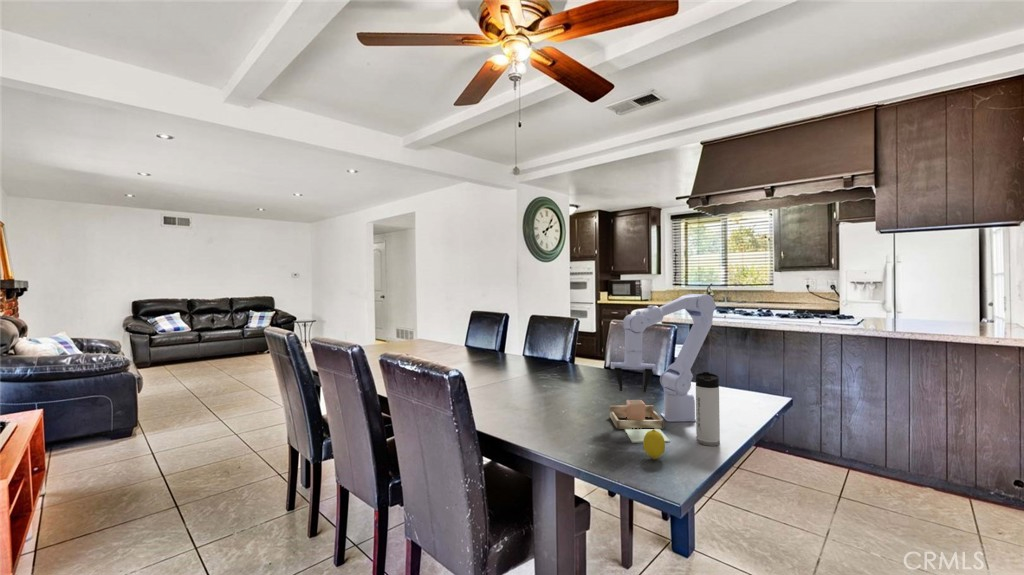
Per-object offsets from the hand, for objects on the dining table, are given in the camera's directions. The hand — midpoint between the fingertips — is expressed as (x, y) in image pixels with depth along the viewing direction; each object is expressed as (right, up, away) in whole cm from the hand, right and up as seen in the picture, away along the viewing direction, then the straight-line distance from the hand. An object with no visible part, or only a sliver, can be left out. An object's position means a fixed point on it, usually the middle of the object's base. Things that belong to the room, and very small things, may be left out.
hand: (632, 390), depth 146 cm
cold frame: (+1, -11, 0) cm, 11 cm away
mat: (+1, -11, -13) cm, 17 cm away
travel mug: (+17, -11, -18) cm, 27 cm away
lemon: (-2, -11, -30) cm, 32 cm away
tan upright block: (+1, -11, 0) cm, 11 cm away
